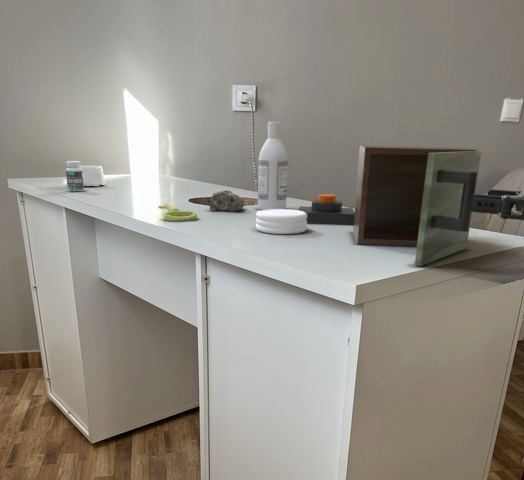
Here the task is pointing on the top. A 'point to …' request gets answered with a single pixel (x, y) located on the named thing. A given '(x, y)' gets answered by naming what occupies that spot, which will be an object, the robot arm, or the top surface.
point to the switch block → (328, 213)
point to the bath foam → (272, 171)
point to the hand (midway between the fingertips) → (479, 199)
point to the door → (446, 204)
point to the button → (327, 198)
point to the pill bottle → (74, 176)
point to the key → (177, 214)
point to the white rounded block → (92, 175)
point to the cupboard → (391, 193)
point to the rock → (226, 201)
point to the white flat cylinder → (281, 221)
